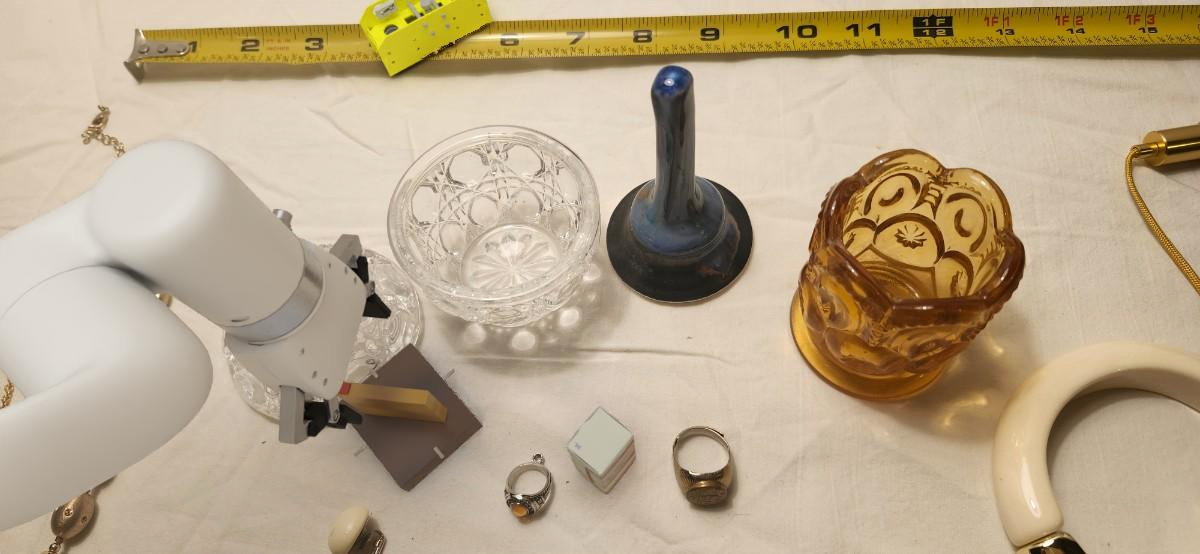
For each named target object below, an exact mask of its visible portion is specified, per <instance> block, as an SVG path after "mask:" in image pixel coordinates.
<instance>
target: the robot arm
mask: <svg viewBox="0 0 1200 554" xmlns="http://www.w3.org/2000/svg"><path fill="white" fill-rule="evenodd" d="M292 220H293V214H292V213H291V212H289V211H288V210H285V209H282V208H274V209H273V210H271V209H270V207H268V206H267V205H266V204H265V202H264V201H263V200H262V199H260V197H259V196H257V195H256V193H255V192H254V191H252V189H250V188H249V186H248V185H247V184H246V183H245V182H244V181H243V180H242V179H241V178H240V177H239V176H238V175H237V174H236V173H235V172H234V171H233V170H232V168H230V166H228V165H227V163H225V162H224V161H223V160H222V159H221V158H219V157H218V156H217V155H216V154H215V153H213V152H212V151H211V150H209V149H207V148H206V147H204V146H202V145H200V144H198V143H194V142H191V141H187V140H183V139H168V138H167V139H158V140H157V139H156V140H153V141H149V142H146V143H145V142H144V143H143V144H140V145H137V146H135V147H134V148H132V149H129V150H128V151H126V152H124V153H123V154H121V155H120V156H119V157H117V158H116V159H115V160H114V161H113V162H111V163H110V164H109V165H108V166H107V167H106V168H105V169H104V171H103V172H102V173H101V174H100V175H99V177H98V178H97V180H96V182H95V183H94V184H93V186H92V187H90V188H89V189H87V190H85V191H83V192H82V193H80V194H78V195H76V196H75V197H73V198H71V199H69V200H68V201H65V202H64V203H62V204H59V206H56V207H55V208H52V209H50V210H49V211H47V212H44V213H43V214H41V215H39V216H37V217H35V218H33V219H31V220H29V221H27V222H25V223H23V224H22V225H20V226H17V227H16V228H15V229H12V230H10V231H9V232H7V233H5V234H3V235H1V236H0V371H1V372H2V374H3V375H4V376H5V377H6V378H7V380H9V382H10V383H11V384H12V385H13V387H15V389H16V390H17V391H18V392H19V393H20V394H21V395H22V397H23V398H24V399H22V400H19V401H17V402H14V403H12V404H10V405H7V406H5V407H3V408H0V533H3V532H6V531H9V530H11V529H14V528H17V527H20V526H22V525H26V524H27V523H30V522H32V521H34V520H36V519H39V518H41V517H43V516H46V515H47V514H49V513H51V512H54V511H55V510H57V509H59V508H60V507H63V506H64V505H66V504H67V503H68V504H69V502H71V501H73V500H75V499H77V498H78V497H80V496H81V495H84V494H85V493H87V492H89V491H91V490H92V489H94V488H96V487H98V486H99V485H101V484H103V483H104V482H107V481H108V480H110V479H112V478H113V477H116V476H117V475H119V474H121V473H122V472H124V471H126V470H127V469H129V468H130V467H132V466H134V465H137V464H138V463H139V462H141V461H142V460H144V459H146V458H147V457H148V456H149V455H152V454H153V453H154V452H156V451H157V450H159V449H160V448H162V447H163V446H164V445H166V444H167V443H168V442H170V441H171V440H173V439H174V438H175V437H176V436H177V435H179V433H181V432H182V431H183V430H184V429H185V428H186V427H188V426H189V424H190V423H191V422H192V421H194V419H195V418H196V416H197V415H198V414H199V413H200V412H201V410H202V408H203V407H204V405H205V404H206V402H207V400H208V398H209V396H210V393H211V391H212V387H213V381H214V367H213V362H212V359H211V355H210V353H209V350H208V349H207V347H206V346H205V344H204V343H203V341H202V340H201V338H200V337H199V336H198V335H197V334H196V333H195V331H194V330H192V328H190V327H189V326H188V324H187V323H186V322H184V320H182V319H181V318H180V317H179V316H178V315H177V313H176V312H174V311H173V310H172V309H171V308H170V307H169V306H168V305H166V304H165V303H164V302H163V301H162V300H161V299H160V298H159V296H157V295H163V294H164V295H168V296H170V297H173V299H175V300H177V301H179V302H180V303H182V304H183V305H184V306H186V307H188V308H189V309H191V310H192V311H194V312H195V313H197V314H199V315H200V316H202V317H203V318H205V319H206V320H207V321H209V322H211V323H212V324H214V325H216V326H217V327H218V328H219V329H220V328H221V330H223V331H225V332H224V341H223V342H224V344H225V346H226V347H227V349H228V351H229V352H230V353H231V354H232V356H233V358H234V359H236V361H237V362H238V363H239V364H240V365H241V367H243V368H244V369H245V370H246V371H247V372H248V373H249V374H251V376H253V377H254V378H255V379H256V380H258V381H259V382H260V383H262V384H263V385H264V386H265V387H267V388H268V389H270V390H271V391H273V392H274V393H275V394H277V395H279V396H280V402H279V419H278V421H279V422H278V442H279V443H281V444H289V445H299V444H300V443H303V442H304V441H307V440H308V438H316V437H317V436H318V435H319V434H320V433H321V432H322V431H323V430H324V429H325V428H326V427H328V428H331V429H336V430H346V429H347V425H348V424H351V425H352V424H358V425H361V424H362V420H363V418H362V415H360V414H359V413H357V412H356V411H354V410H353V409H351V408H350V407H348V406H347V405H344V404H339V403H338V402H339V396H337V394H338V392H339V390H340V389H341V386H342V384H343V382H345V381H344V380H345V378H346V374H347V371H348V368H349V365H350V361H351V358H352V354H353V350H354V348H355V344H356V340H357V337H358V334H359V329H360V326H361V322H362V320H363V319H362V318H372V319H373V318H375V319H383V320H388V319H389V318H391V315H392V310H391V309H390V307H388V306H387V304H386V303H385V302H384V301H383V300H382V298H381V297H380V296H379V295H378V294H377V292H376V287H377V285H376V284H377V283H376V281H375V280H373V279H370V274H369V261H368V257H367V256H365V255H363V252H364V251H363V247H362V242H361V240H360V236H359V235H358V234H349V233H342V234H341V235H340V236H339V238H338V239H337V240H336V242H334V244H333V246H332V247H331V248H330V249H329V250H326V249H325V248H323V247H321V246H320V245H317V244H315V243H313V242H311V241H309V240H307V239H305V238H301V237H298V236H297V235H296V234H295V233H294V232H293V228H292V225H291V223H292ZM313 397H314V398H317V399H322V401H318V400H317V401H316V400H314V399H313Z"/></svg>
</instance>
